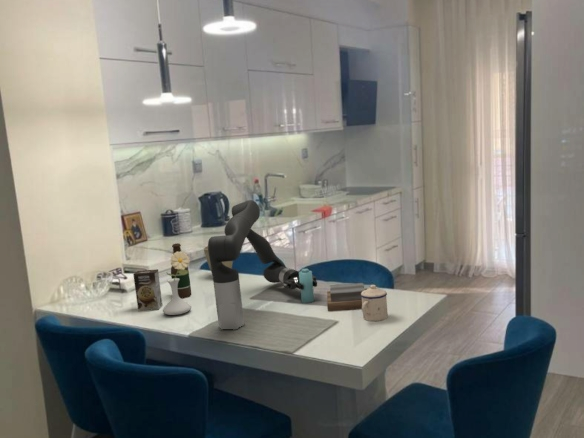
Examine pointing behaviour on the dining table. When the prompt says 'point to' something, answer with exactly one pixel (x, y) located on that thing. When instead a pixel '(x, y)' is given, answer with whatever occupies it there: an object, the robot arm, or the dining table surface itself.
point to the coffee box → (148, 290)
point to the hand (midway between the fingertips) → (309, 285)
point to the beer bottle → (181, 277)
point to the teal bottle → (306, 286)
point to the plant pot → (227, 263)
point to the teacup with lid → (374, 304)
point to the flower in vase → (176, 302)
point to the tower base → (343, 304)
